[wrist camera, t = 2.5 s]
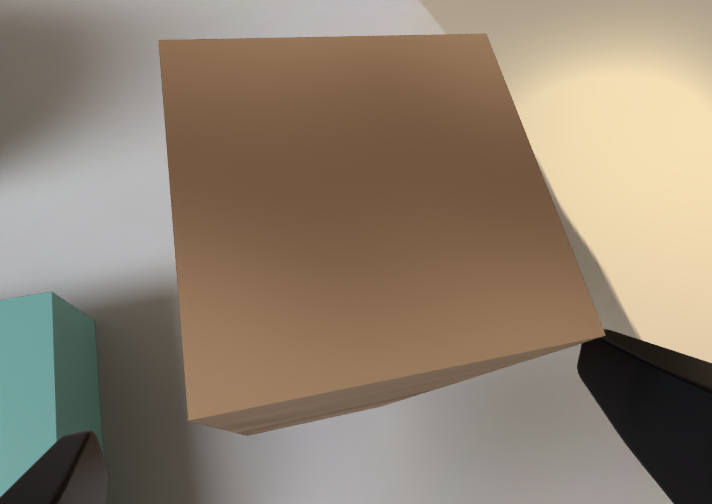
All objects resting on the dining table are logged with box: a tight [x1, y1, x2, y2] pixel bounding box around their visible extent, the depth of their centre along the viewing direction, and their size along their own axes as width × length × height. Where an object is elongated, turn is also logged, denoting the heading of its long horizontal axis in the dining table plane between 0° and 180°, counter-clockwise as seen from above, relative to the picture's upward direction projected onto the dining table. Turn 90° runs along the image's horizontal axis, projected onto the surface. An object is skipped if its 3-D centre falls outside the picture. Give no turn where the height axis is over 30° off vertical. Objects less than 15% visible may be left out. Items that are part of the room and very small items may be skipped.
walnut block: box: [159, 34, 606, 436], centre depth 12 cm, size 5×5×13 cm
